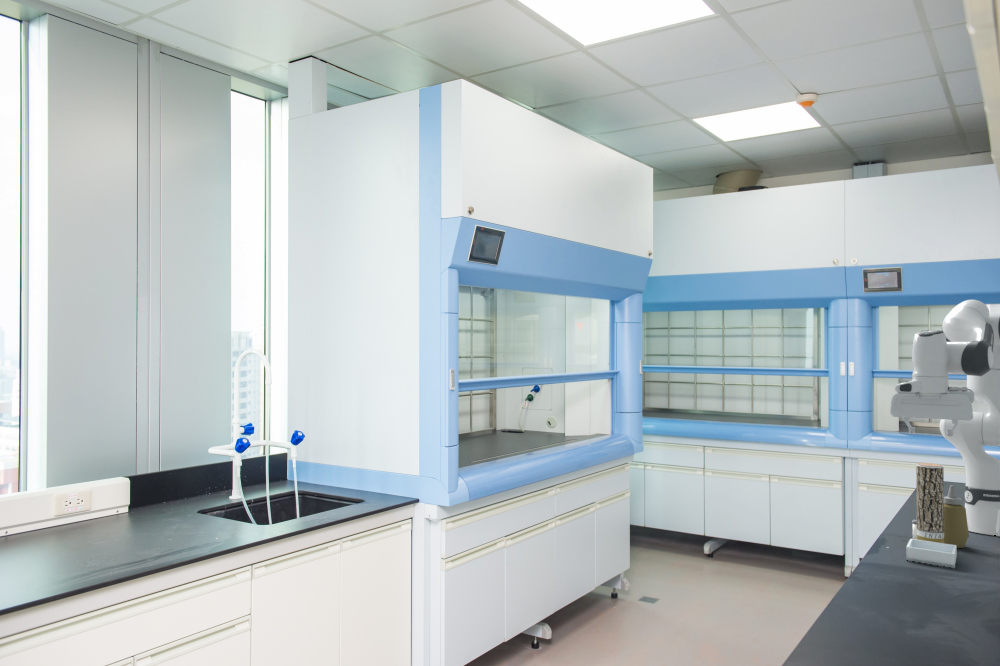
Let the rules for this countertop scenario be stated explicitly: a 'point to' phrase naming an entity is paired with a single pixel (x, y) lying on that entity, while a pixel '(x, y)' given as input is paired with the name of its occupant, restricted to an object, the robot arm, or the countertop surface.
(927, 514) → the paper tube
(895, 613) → the countertop surface
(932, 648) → the countertop surface
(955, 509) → the squeeze bottle
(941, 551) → the tray
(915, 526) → the sample vial
